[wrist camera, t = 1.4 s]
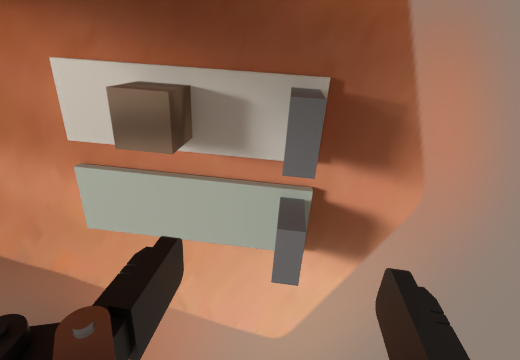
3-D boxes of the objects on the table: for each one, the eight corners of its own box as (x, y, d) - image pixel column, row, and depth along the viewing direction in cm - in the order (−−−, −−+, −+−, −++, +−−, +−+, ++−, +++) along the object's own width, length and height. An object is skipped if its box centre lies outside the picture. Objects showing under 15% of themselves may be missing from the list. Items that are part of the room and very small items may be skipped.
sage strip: (80, 163, 32) (26, 190, 26) (312, 187, 30) (316, 223, 24) (92, 223, 35) (48, 260, 29) (302, 248, 33) (304, 294, 27)
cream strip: (57, 57, 28) (-15, 58, 21) (329, 77, 25) (340, 85, 19) (74, 137, 31) (17, 159, 24) (316, 160, 29) (322, 191, 22)
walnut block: (138, 81, 27) (105, 86, 22) (190, 85, 26) (168, 91, 22) (143, 133, 29) (115, 148, 24) (192, 137, 28) (172, 154, 24)
